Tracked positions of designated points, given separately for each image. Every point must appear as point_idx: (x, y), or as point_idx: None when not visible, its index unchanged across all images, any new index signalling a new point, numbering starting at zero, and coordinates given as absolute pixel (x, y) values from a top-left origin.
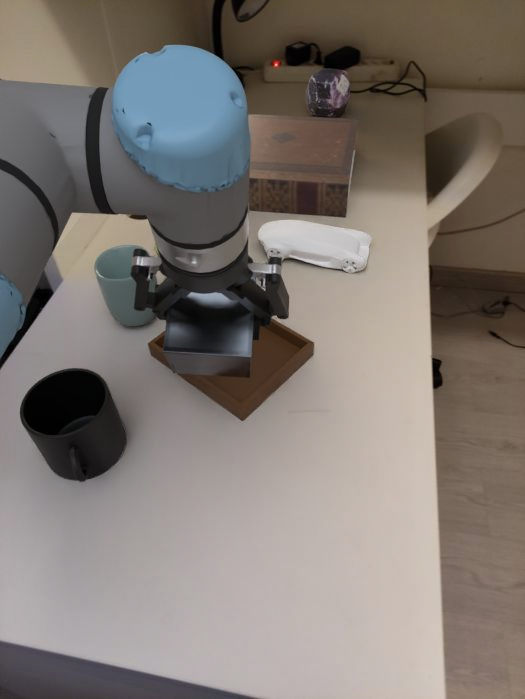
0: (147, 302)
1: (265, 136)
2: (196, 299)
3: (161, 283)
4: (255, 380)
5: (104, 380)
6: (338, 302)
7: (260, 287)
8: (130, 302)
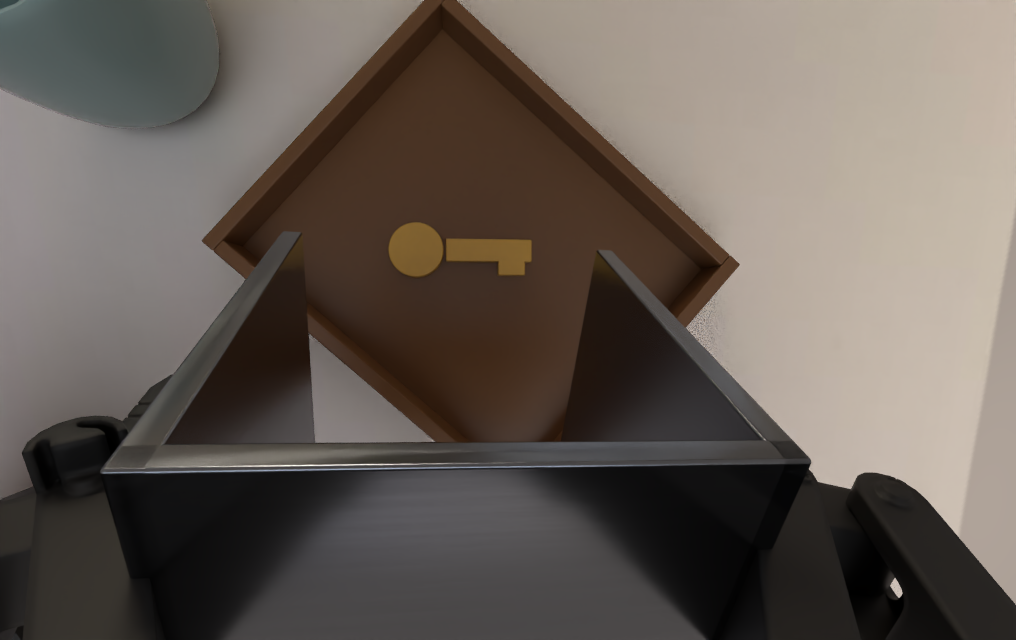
0: (3, 620)
1: None
2: (367, 636)
3: (26, 628)
4: (552, 366)
5: (15, 636)
6: (802, 54)
7: (851, 616)
8: (76, 93)
